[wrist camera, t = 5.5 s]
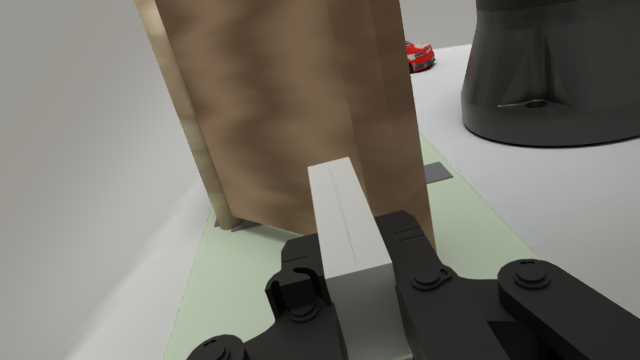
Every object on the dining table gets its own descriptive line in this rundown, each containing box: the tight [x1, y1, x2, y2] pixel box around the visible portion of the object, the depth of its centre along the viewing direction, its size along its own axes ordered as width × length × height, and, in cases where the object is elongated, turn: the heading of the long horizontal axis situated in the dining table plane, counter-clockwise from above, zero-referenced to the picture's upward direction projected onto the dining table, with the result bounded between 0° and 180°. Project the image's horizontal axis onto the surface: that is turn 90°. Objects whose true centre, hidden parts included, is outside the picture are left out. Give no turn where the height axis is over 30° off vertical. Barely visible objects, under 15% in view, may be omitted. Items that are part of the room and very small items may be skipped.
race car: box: [405, 41, 436, 74], centre depth 59 cm, size 13×5×4 cm, turn 62°
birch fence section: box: [134, 0, 245, 230], centre depth 32 cm, size 2×14×16 cm, turn 4°
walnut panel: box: [154, 0, 437, 254], centre depth 21 cm, size 13×2×15 cm, turn 50°
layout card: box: [163, 132, 541, 360], centre depth 29 cm, size 17×28×1 cm, turn 5°
